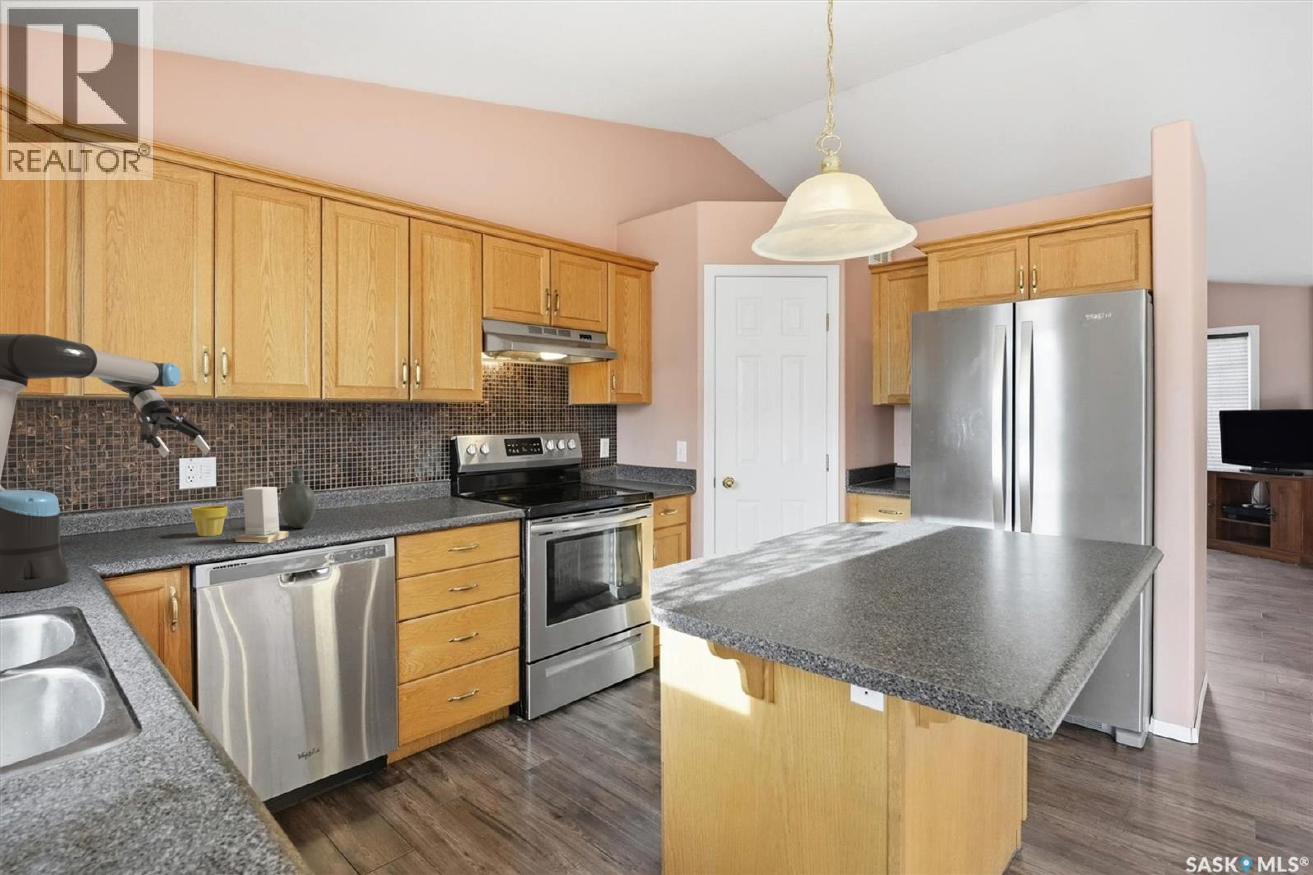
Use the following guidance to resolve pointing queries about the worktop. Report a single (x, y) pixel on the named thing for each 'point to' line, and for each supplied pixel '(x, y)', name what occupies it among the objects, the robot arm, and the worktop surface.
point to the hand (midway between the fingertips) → (187, 453)
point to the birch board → (262, 537)
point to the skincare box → (261, 510)
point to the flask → (297, 502)
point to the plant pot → (209, 519)
